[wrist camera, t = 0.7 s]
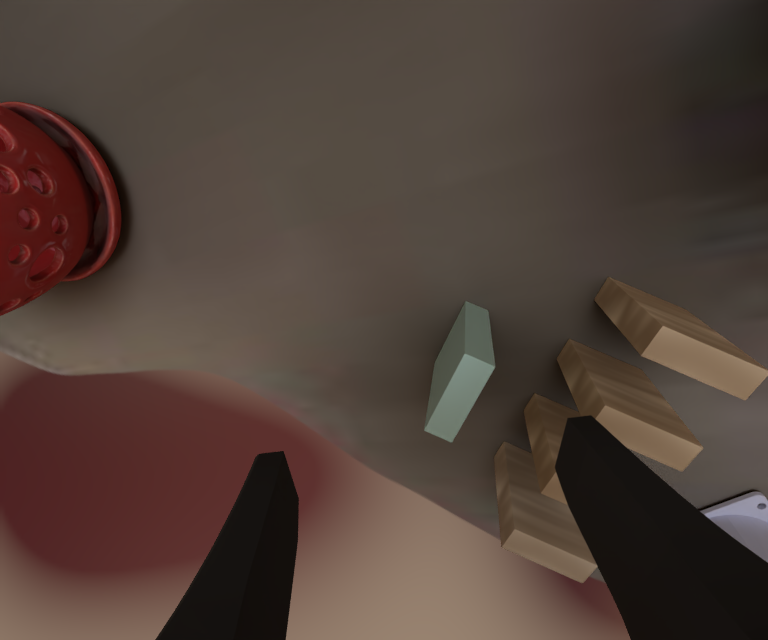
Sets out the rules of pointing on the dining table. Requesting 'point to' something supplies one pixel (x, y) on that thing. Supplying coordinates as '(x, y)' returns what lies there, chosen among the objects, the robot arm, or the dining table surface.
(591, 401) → the domino
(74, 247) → the plant pot
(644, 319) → the domino
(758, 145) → the dining table surface
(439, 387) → the teal domino
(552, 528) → the domino
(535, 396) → the domino
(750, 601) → the robot arm
